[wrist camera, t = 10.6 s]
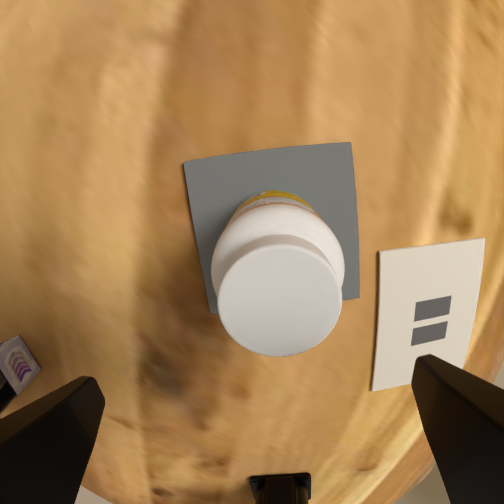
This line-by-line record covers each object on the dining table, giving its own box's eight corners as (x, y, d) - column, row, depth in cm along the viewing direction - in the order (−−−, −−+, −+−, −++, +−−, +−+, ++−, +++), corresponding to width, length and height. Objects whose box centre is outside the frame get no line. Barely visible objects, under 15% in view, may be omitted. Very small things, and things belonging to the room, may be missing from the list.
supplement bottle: (307, 282, 20) (336, 382, 10) (223, 266, 20) (188, 359, 10) (327, 198, 18) (385, 240, 9) (237, 180, 18) (206, 205, 9)
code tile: (461, 367, 22) (462, 369, 22) (371, 389, 23) (372, 391, 22) (482, 237, 18) (485, 238, 18) (378, 250, 19) (380, 251, 19)
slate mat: (358, 295, 20) (359, 297, 20) (211, 311, 21) (210, 313, 21) (349, 142, 17) (350, 142, 17) (185, 161, 18) (183, 161, 18)
